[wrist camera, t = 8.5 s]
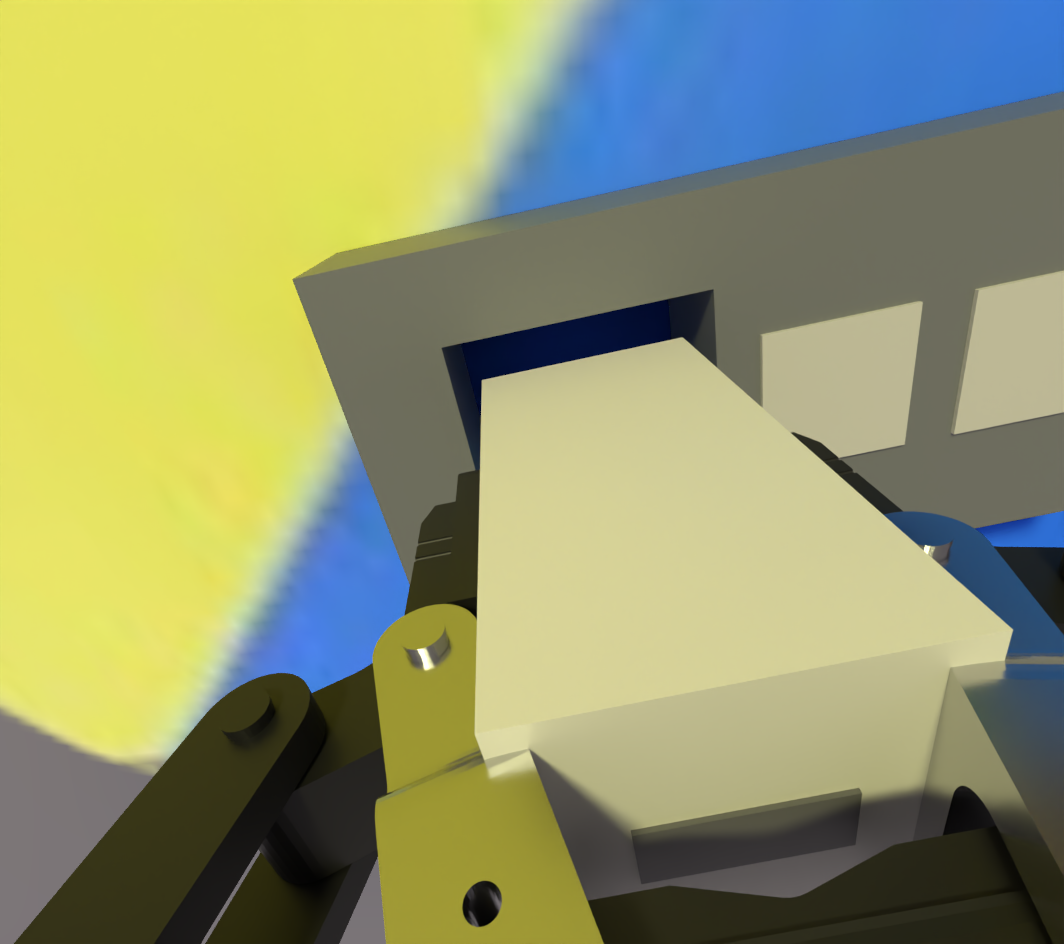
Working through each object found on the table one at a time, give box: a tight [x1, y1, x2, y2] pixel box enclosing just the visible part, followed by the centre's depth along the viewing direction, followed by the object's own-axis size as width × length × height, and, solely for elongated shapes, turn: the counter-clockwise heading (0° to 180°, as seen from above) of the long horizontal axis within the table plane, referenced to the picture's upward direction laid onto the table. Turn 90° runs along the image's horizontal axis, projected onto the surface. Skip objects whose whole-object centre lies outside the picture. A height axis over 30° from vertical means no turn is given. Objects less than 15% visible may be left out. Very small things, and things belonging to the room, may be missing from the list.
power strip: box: [293, 92, 1064, 584], centre depth 14 cm, size 18×9×4 cm, turn 101°
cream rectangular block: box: [475, 337, 1013, 901], centre depth 9 cm, size 4×4×8 cm
